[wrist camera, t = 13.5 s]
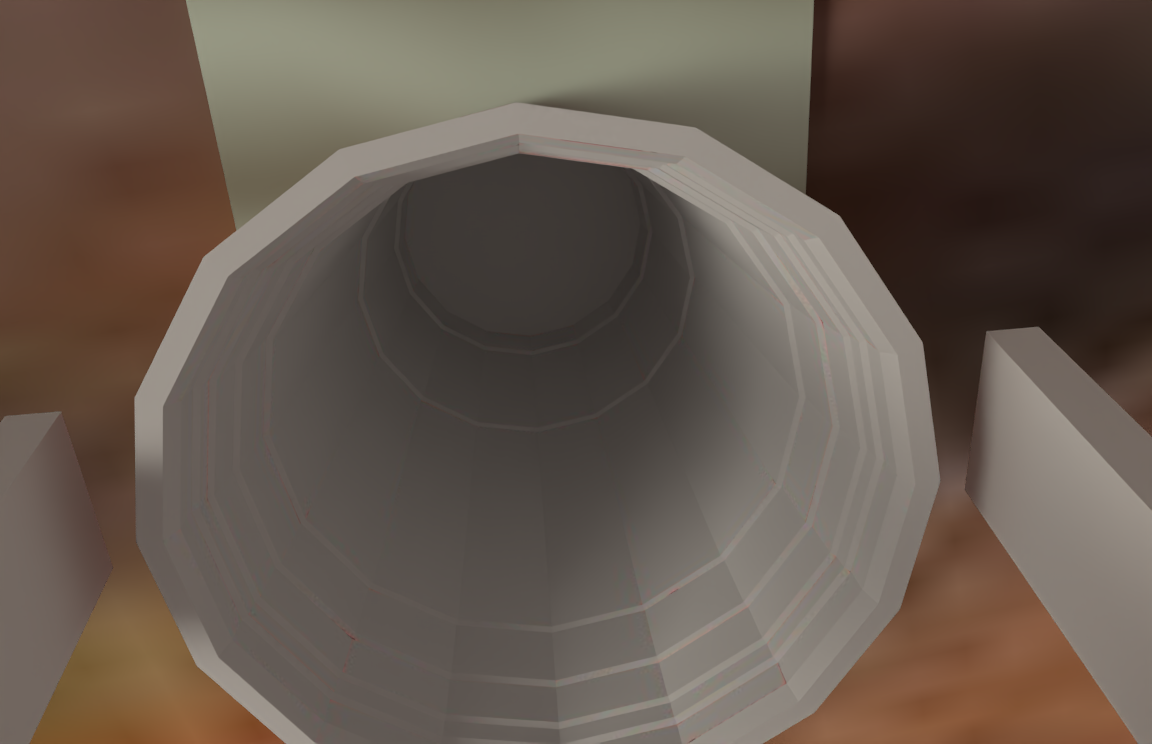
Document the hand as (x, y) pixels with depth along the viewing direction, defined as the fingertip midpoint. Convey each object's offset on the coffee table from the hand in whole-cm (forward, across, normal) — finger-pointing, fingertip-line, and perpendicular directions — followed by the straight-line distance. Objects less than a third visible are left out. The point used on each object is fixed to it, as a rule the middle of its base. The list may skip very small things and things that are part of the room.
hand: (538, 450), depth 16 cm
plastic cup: (+10, 0, 0) cm, 10 cm away
